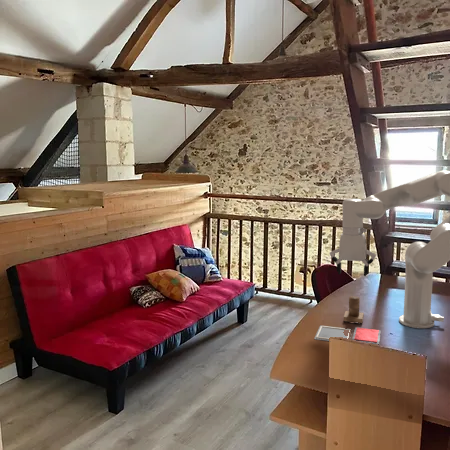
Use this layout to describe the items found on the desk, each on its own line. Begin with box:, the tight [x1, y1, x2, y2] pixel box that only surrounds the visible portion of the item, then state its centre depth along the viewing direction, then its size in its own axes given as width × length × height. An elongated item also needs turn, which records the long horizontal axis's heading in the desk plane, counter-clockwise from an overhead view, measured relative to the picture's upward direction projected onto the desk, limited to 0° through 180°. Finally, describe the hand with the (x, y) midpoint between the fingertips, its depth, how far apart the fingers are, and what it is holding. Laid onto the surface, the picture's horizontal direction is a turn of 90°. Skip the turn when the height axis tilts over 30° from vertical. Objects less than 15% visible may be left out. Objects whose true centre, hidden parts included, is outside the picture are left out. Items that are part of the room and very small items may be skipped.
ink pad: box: [351, 327, 381, 346], centre depth 164 cm, size 9×12×2 cm
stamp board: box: [314, 325, 352, 342], centre depth 168 cm, size 12×13×1 cm
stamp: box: [343, 295, 365, 324], centre depth 180 cm, size 7×7×9 cm
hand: (352, 274), depth 178 cm, fingers open, 9 cm apart
